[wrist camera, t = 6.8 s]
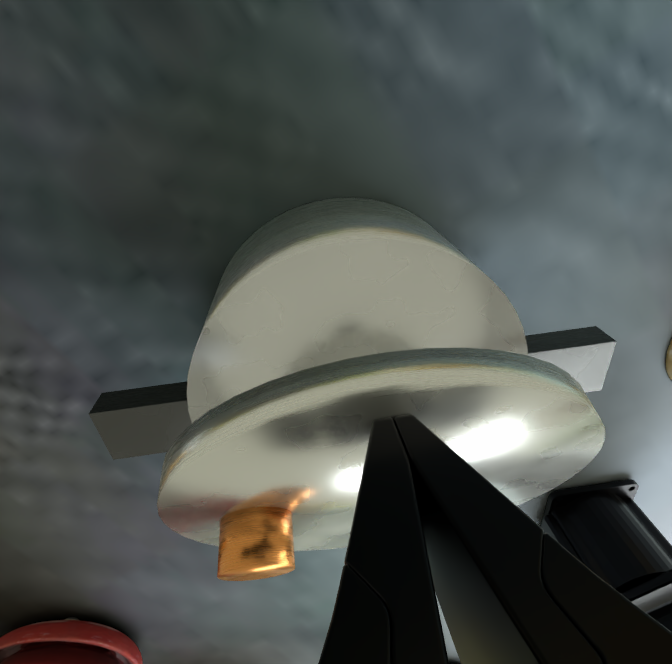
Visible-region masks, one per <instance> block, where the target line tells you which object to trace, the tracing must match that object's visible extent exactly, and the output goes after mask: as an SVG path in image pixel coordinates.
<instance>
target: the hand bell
mask: <svg viewBox="0 0 672 664" xmlns="http://www.w3.org/2000/svg"><path fill="white" fill-rule="evenodd" d="M666 370H667V373H668V375H669V378H670V379H671V380H672V339H671V342H670V345H669V347H668V350H667V355H666Z"/></svg>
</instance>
